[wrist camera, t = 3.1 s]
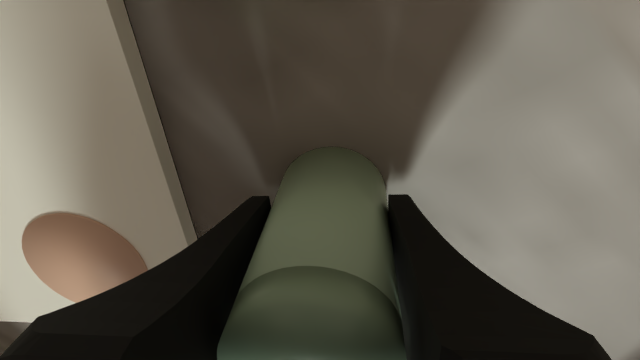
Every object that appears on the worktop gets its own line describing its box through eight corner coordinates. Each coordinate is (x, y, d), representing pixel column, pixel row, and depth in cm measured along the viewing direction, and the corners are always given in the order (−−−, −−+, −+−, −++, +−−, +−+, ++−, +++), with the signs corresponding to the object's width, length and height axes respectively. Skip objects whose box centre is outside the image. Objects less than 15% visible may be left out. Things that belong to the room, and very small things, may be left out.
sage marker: (384, 236, 14) (403, 428, 8) (287, 236, 15) (236, 416, 9) (386, 145, 12) (413, 307, 6) (274, 148, 13) (196, 301, 7)
